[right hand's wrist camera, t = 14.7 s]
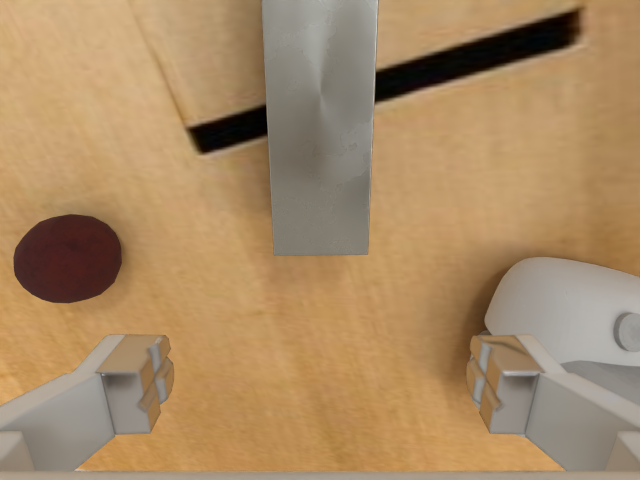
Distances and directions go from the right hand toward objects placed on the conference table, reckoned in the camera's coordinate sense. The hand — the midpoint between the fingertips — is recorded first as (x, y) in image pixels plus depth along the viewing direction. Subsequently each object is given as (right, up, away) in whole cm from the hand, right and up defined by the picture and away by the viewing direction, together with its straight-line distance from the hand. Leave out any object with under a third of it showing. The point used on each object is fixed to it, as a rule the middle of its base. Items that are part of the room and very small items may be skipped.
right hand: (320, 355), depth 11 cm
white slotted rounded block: (+26, -6, +29) cm, 39 cm away
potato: (-21, +3, +25) cm, 33 cm away
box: (0, +15, +21) cm, 26 cm away
